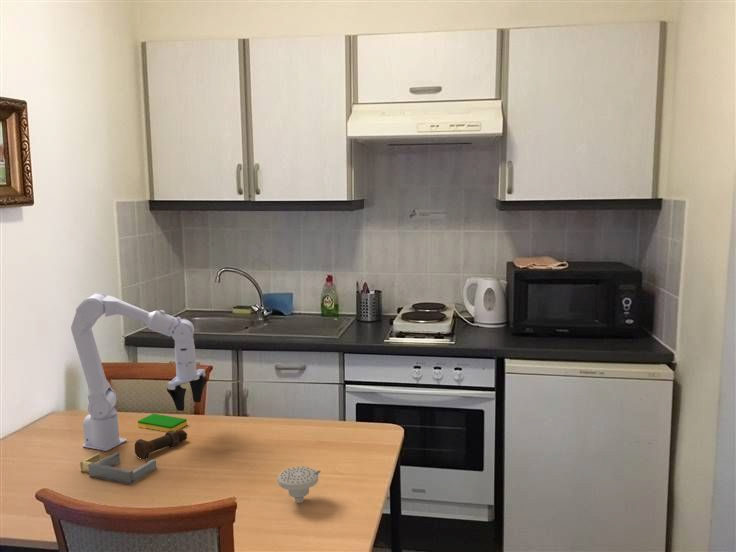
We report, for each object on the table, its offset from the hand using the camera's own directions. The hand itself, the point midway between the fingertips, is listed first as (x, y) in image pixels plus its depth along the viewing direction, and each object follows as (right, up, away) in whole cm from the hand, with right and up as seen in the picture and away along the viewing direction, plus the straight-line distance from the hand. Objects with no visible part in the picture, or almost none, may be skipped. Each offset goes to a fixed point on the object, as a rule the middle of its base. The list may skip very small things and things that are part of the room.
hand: (188, 406), depth 193 cm
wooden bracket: (-20, -13, -18) cm, 30 cm away
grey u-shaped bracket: (-11, -13, -21) cm, 27 cm away
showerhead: (+37, -15, -39) cm, 56 cm away
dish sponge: (-11, -9, +11) cm, 18 cm away
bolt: (-5, -11, -7) cm, 14 cm away
